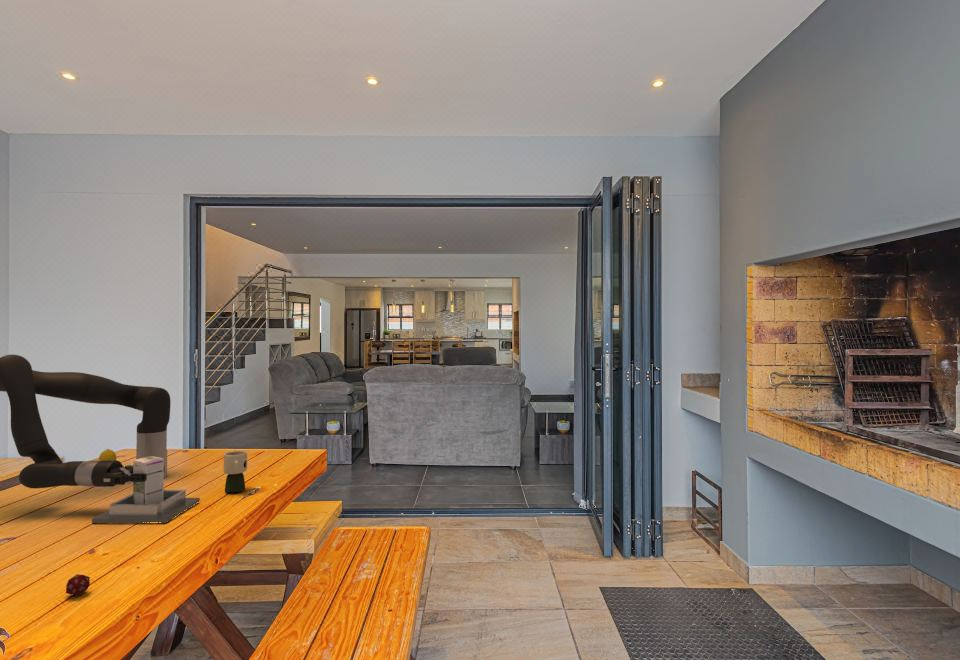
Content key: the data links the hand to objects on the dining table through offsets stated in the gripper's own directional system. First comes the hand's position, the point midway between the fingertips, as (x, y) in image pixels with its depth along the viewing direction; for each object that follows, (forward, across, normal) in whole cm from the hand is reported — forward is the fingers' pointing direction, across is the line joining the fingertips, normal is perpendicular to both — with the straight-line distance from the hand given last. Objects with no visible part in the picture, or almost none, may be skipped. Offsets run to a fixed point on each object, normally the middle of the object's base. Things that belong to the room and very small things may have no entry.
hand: (155, 473), depth 149 cm
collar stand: (-2, 0, +12) cm, 12 cm away
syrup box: (-2, 0, +10) cm, 10 cm away
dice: (+13, -47, +12) cm, 50 cm away
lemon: (-47, +47, +12) cm, 67 cm away
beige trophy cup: (+14, +20, +12) cm, 27 cm away
